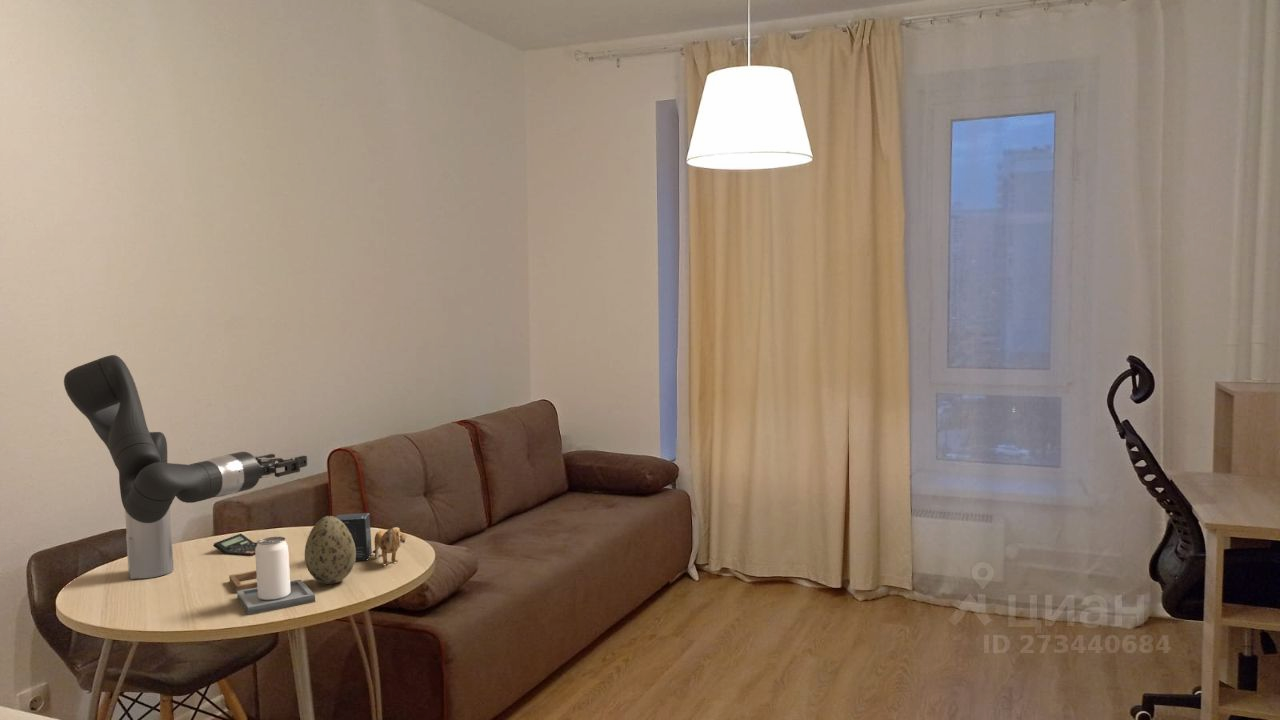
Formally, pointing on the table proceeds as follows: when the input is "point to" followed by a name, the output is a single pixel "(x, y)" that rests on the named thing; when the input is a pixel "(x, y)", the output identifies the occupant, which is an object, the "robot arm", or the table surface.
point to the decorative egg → (330, 551)
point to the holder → (241, 577)
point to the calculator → (236, 546)
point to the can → (272, 568)
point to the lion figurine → (388, 543)
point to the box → (359, 533)
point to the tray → (256, 605)
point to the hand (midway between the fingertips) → (289, 459)
